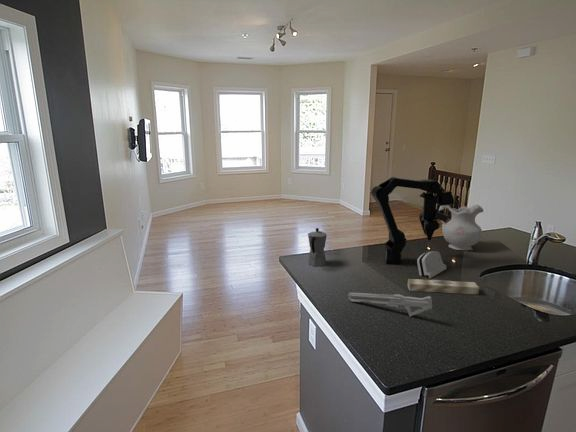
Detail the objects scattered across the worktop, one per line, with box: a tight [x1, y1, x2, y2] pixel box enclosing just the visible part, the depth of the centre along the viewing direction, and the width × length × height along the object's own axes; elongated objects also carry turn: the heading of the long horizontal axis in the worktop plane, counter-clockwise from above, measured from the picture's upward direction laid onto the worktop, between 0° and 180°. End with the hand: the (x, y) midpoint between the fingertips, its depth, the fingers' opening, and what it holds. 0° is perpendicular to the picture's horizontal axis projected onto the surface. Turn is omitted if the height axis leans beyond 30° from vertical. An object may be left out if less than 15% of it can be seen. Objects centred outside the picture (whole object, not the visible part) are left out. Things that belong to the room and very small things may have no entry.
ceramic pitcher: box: [438, 204, 484, 252], centre depth 191 cm, size 22×20×25 cm
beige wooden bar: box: [407, 278, 480, 295], centre depth 143 cm, size 26×5×3 cm, turn 81°
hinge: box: [416, 250, 447, 279], centre depth 162 cm, size 17×5×10 cm, turn 132°
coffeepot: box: [307, 227, 328, 267], centre depth 171 cm, size 15×9×18 cm, turn 160°
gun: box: [347, 291, 433, 318], centre depth 127 cm, size 2×30×8 cm, turn 58°
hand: (427, 237), depth 172 cm, fingers open, 9 cm apart
